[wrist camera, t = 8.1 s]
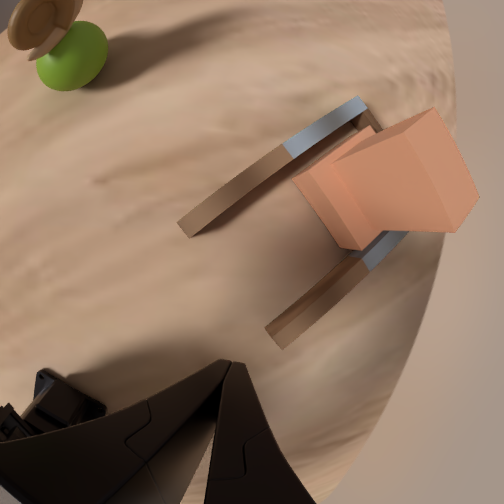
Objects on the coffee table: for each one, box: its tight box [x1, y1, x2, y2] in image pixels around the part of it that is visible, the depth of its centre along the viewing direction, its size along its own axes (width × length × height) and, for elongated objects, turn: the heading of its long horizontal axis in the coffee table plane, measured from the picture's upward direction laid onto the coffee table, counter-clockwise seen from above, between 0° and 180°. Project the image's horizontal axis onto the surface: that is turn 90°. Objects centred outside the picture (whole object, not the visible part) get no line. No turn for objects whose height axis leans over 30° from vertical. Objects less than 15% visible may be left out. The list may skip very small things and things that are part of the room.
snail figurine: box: [8, 0, 108, 91], centre depth 10 cm, size 5×6×12 cm
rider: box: [292, 107, 479, 251], centre depth 15 cm, size 6×6×10 cm
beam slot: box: [177, 96, 409, 350], centre depth 19 cm, size 16×10×2 cm
